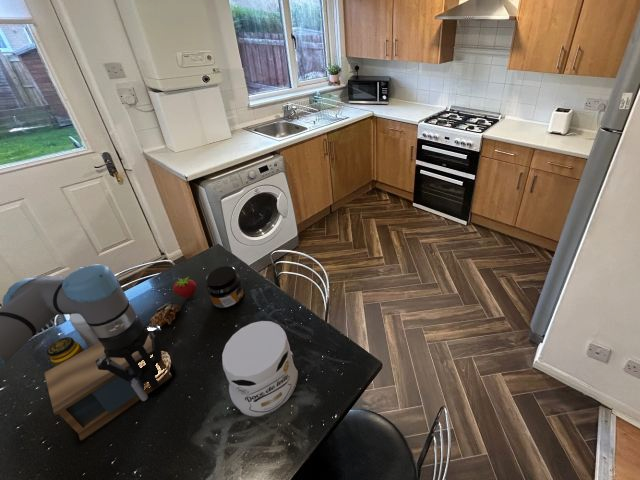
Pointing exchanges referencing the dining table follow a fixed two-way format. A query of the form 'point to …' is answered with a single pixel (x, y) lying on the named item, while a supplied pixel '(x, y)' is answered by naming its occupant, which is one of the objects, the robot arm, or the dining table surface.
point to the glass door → (119, 392)
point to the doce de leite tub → (259, 368)
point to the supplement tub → (83, 329)
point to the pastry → (164, 315)
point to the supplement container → (224, 287)
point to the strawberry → (185, 287)
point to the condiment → (63, 350)
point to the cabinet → (88, 388)
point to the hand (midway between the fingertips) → (154, 384)
